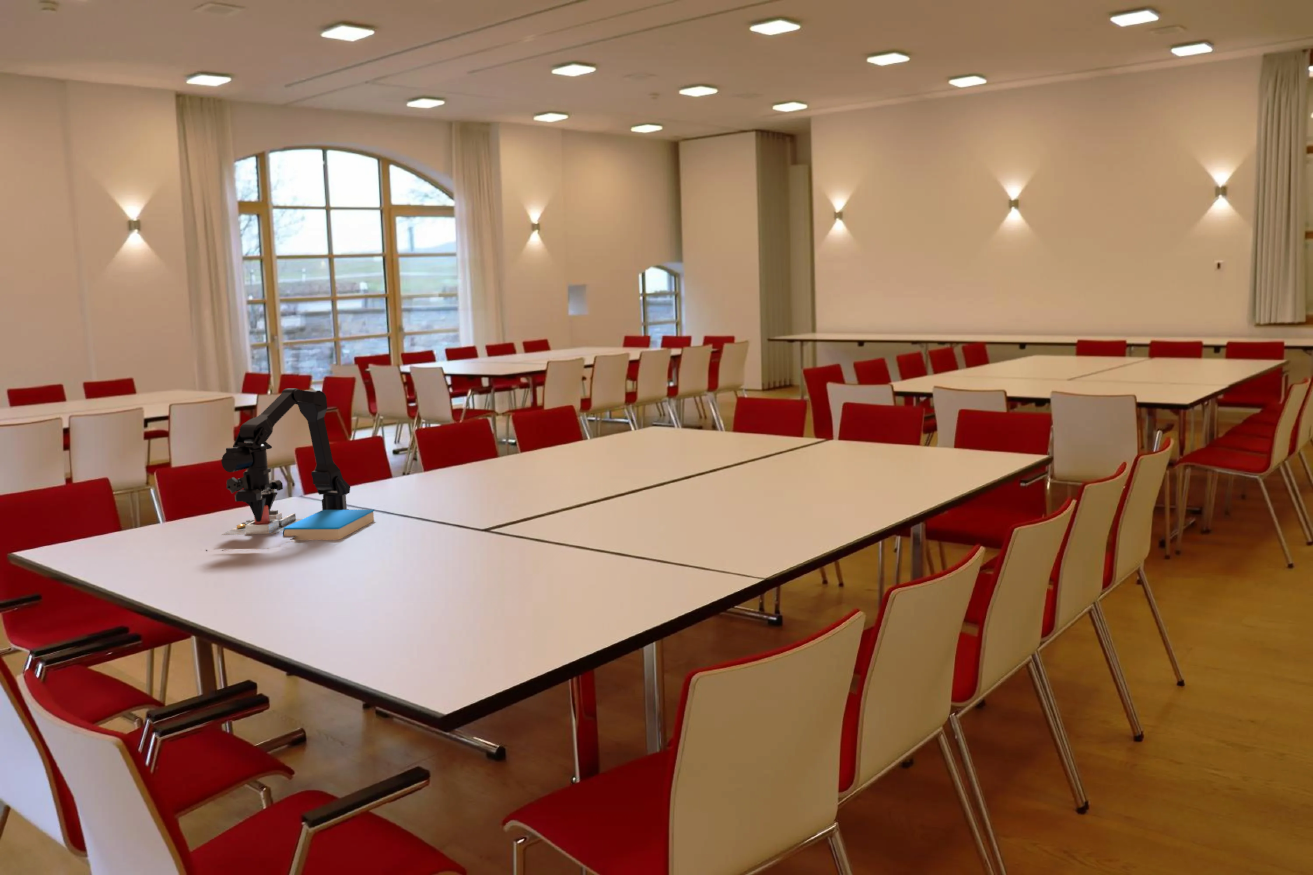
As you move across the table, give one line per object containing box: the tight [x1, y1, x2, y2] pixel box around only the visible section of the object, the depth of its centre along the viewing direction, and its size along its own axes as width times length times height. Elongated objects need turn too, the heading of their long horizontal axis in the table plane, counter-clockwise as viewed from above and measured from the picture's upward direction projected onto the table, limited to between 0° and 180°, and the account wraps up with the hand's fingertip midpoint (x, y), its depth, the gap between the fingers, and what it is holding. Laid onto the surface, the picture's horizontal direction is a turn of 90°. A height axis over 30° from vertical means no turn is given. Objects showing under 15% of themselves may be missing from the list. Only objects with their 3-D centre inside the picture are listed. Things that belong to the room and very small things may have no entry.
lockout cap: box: [253, 505, 270, 525], centre depth 311 cm, size 4×4×5 cm
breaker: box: [269, 509, 283, 520], centre depth 318 cm, size 4×4×4 cm
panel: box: [221, 512, 303, 536], centre depth 317 cm, size 16×20×4 cm
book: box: [282, 508, 375, 541], centre depth 315 cm, size 17×4×25 cm
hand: (262, 519), depth 311 cm, fingers closed on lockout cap, 4 cm apart
